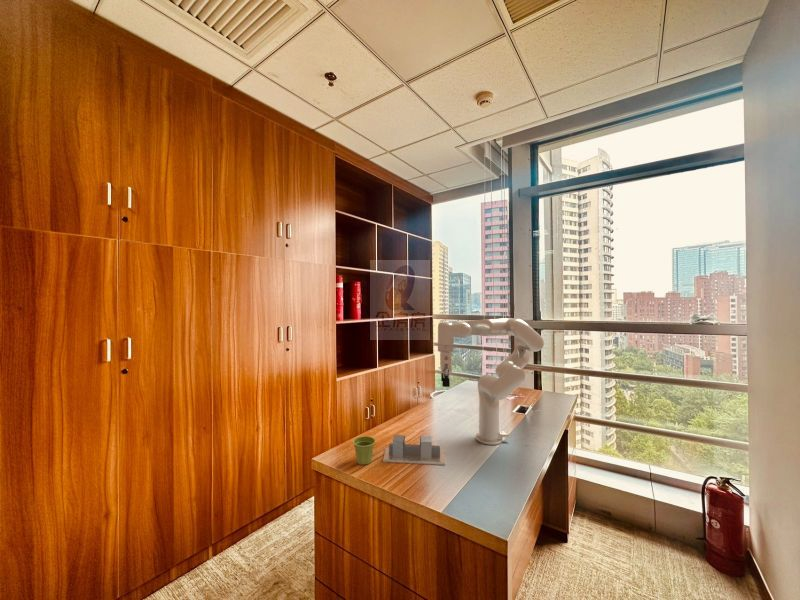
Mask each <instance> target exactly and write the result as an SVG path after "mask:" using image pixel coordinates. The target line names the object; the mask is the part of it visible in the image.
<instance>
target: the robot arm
mask: <svg viewBox="0 0 800 600" xmlns="http://www.w3.org/2000/svg"><path fill="white" fill-rule="evenodd" d="M469 336H479V337H499V336H503V337H504V336H513V337H514V349H513V352H512V353H511V354H510V355H509V356H508V357H507V358H505V359H504V360H503V361H501V363H499V364H497V366H496V368H495V375H496V376H494V375H492V374H489V373H488V374H483V375H482V376H480V377H479V379H478V381H477V392H478V402H479V403H478V407H479V408H478V433H476V434H475V439H476V441H477V442H479V443H481V444H483V445H488V446H496V445H500V444H502V443H503V438H510V433H508V432H507V433H506V432H505V431H500V401H502V400H505V399H506V398H507V397H508V396H510V395H511V394H512V393H513V392H515V390H517V389H518V388H519V387H520V386H522V384H523V383H524V381H525V378H526V373H525V371H524V368H525V366H527V364H528V363H529V361H530V357H531V356H530V355H531V352H539V351H541V350H542V349H543V347H544V345H545V342H544V339H543V337H542V335H540V334H539V333H538V332H537V331H536V330H535V329H534V328H533V327H532V326H531V325H529V324H528V323H527V322H526V321H524V320H523V319H520V318H514V317H513V318H512V317H508V318H507V317H505V318H504V317H503V318H489V319H488V318H485V319H484V318H483V319H473V320H472V319H471V320H470V319H469V320H456V321H453V322H447V321H445V322H443V321H441V322H438V326H437V352H439V353H440V354H439V355H440V356H439V360H440V361H439V363H440V371H441V374H440V375H441V377H440V381H441V383H442V385H441V386H442V387H443V388H444V387H446V388H449V387H450V374H452V373H453V355H452V353H453V352H454V351H455V350H454V340H455V338H458V339H465V338H468V337H469Z"/></svg>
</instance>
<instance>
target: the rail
mask: <svg viewBox="0 0 800 600" xmlns="http://www.w3.org/2000/svg"><path fill="white" fill-rule="evenodd" d="M382 462H383V463H399V464H415V465H416V464H419V465H423V464H424V465H436V466H437V465H438V466H439V465H441V466H446V458H445V450H444V449H441V445H433V444H432V448H431V459H425V458H421V447H420V444H411V443H410V444H409V443H407V444H406V435H404V434H393V438H392V443H389V444H388V446H387V447H386V448H385V451H384V454H383V459H382Z"/></svg>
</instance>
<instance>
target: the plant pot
mask: <svg viewBox="0 0 800 600" xmlns="http://www.w3.org/2000/svg"><path fill="white" fill-rule="evenodd" d="M352 444H353V447H354V450H355V451H354V452H355V457H356V463H357V464H358V465H362V466H363V465H369V464H371V463H372V458H373V453H374V447H375V444H376V439H375V438H374V437H372V436H370V435H369V436H367V435H366V436H365V435H361V436H358V437H356V438H354V439H353V440H352Z"/></svg>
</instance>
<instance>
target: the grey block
mask: <svg viewBox="0 0 800 600" xmlns="http://www.w3.org/2000/svg"><path fill="white" fill-rule="evenodd" d="M432 443H433V442H432V435H420V436H419V445H420V447H421V458H425V459H431V448H432V445H433V444H432Z"/></svg>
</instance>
